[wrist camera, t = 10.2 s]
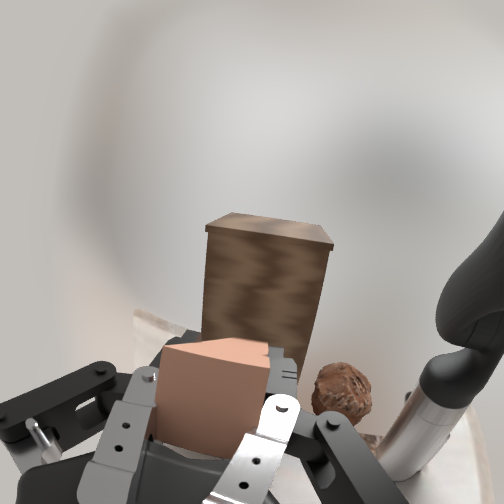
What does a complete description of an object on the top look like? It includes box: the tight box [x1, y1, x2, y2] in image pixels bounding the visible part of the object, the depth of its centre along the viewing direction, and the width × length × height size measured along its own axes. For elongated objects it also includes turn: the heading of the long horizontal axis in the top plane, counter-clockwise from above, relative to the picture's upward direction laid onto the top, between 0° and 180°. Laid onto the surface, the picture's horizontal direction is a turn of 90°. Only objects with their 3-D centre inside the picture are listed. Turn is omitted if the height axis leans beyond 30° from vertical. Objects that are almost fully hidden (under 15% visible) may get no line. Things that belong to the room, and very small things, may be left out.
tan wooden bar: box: [154, 337, 270, 460], centre depth 18 cm, size 4×22×4 cm
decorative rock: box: [312, 362, 372, 427], centre depth 43 cm, size 13×11×10 cm
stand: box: [201, 213, 334, 385], centre depth 42 cm, size 15×15×32 cm
